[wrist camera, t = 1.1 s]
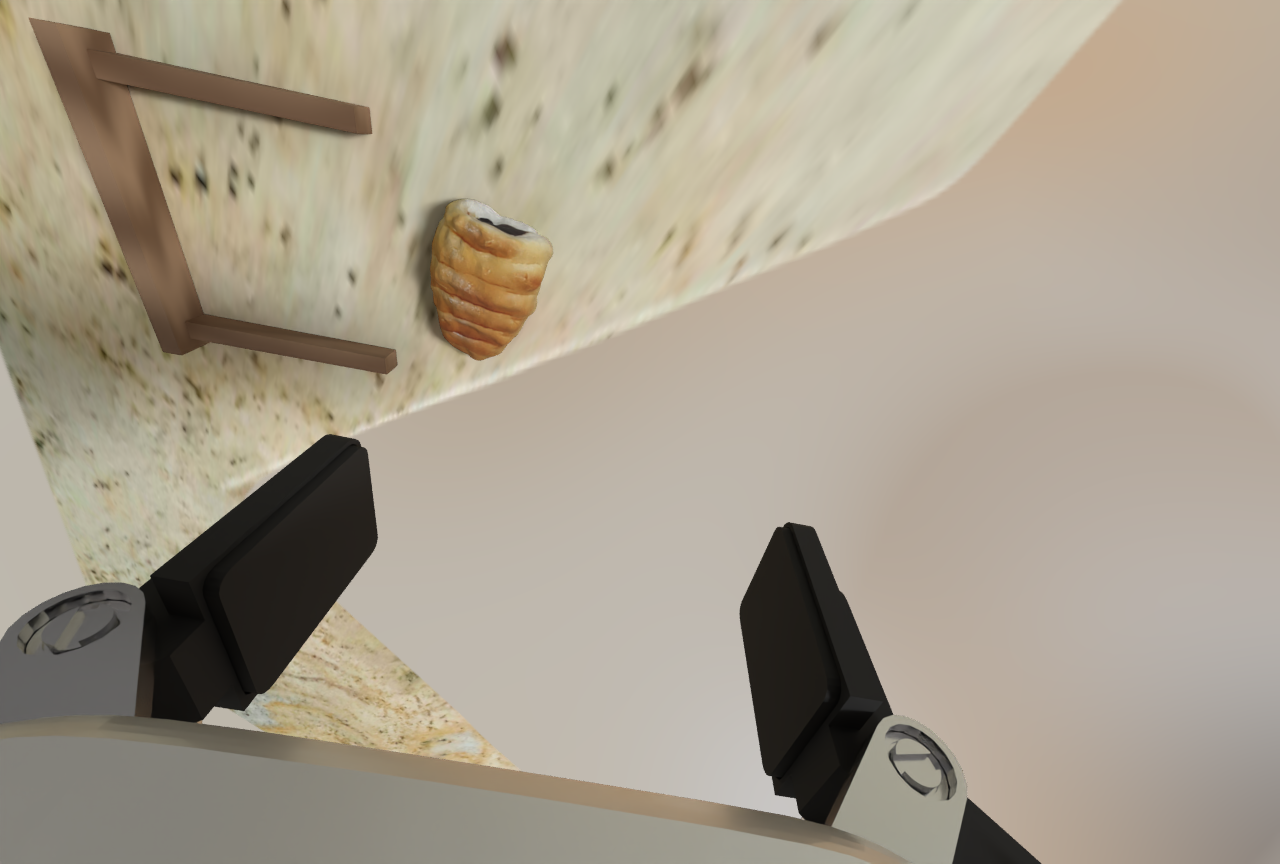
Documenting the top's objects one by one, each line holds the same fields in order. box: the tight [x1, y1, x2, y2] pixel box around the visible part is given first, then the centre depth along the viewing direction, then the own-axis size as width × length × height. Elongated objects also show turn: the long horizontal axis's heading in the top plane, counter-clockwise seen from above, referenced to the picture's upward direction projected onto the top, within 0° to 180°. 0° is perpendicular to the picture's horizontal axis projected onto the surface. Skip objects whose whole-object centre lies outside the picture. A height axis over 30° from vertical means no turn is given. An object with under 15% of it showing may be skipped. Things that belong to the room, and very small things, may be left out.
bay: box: [29, 18, 397, 374], centre depth 28 cm, size 17×14×2 cm
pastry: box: [430, 199, 553, 360], centre depth 29 cm, size 9×7×4 cm
